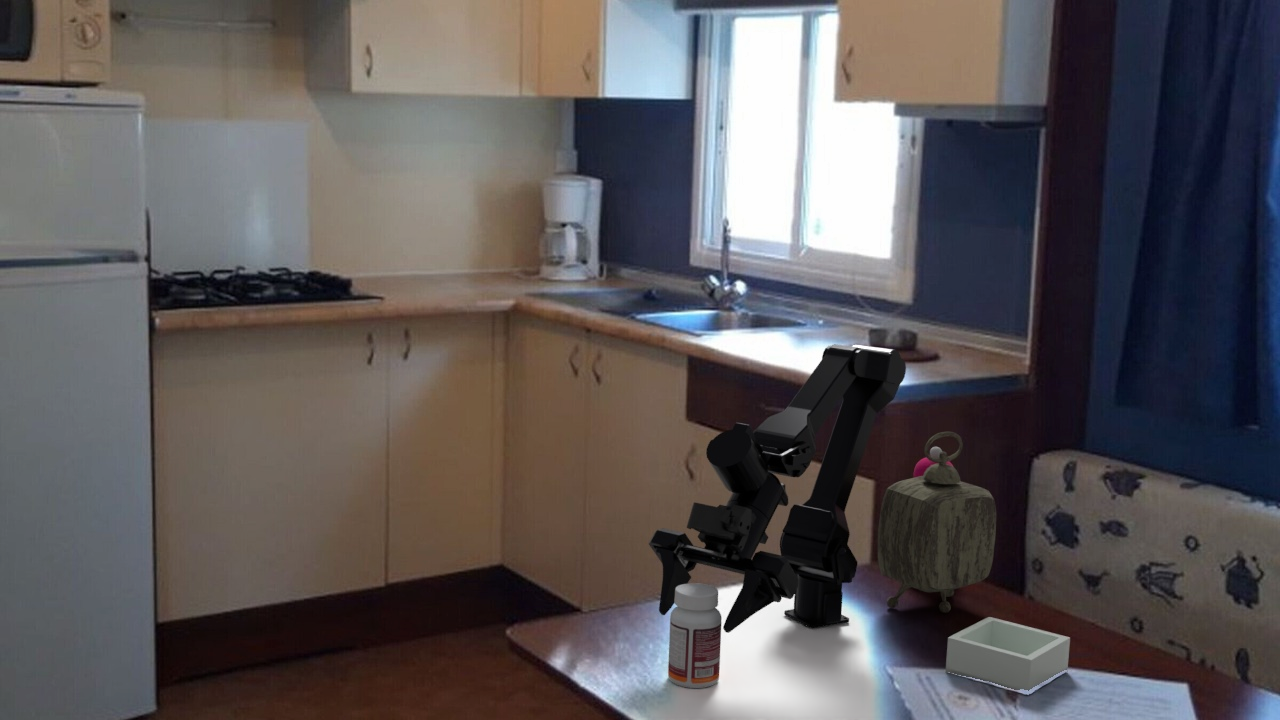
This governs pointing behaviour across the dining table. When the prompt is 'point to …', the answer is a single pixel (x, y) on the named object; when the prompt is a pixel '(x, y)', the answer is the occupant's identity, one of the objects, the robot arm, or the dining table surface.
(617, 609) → the dining table surface
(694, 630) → the pill bottle
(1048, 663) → the sage open tray box
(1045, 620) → the dining table surface
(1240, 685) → the dining table surface
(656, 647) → the dining table surface
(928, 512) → the tabletop clock
